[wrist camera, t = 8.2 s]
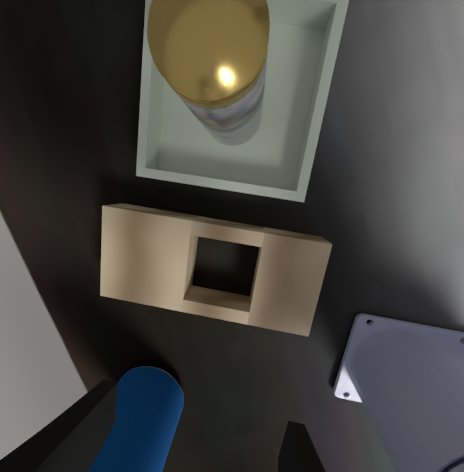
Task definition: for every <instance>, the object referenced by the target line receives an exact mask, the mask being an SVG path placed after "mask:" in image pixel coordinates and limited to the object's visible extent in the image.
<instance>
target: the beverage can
mask: <svg viewBox="0 0 464 472" xmlns="http://www.w3.org/2000/svg"><path fill="white" fill-rule="evenodd" d="M183 405H184V395H183V391H182V389H181V387H180V385H179V384H178V382H177V381H176V380H175V379H174V378H173V377H172V376H171V375H170V374H169V373H167V372H166V371H164V370H162V369H159V368H156V367H149V366H142V367H136V368H133V369H131V370H129V371H128V372H126V373H125V374H124V375H123V376H122V378H121V379H120V380H119V382H118V387H117V403H116V420H115V423H114V425H113V427H112V429H111V431H110V433H109V435H108V437H107V439H106V441H105V443H104V445H103V447H102V449H101V451H100V453H99V454H98V456H97V458H96V459H95V461H94V463H93V464H92V466H91V468H90V469H89V471H88V472H162V470H163V467H164V464H165V461H166V458H167V455H168V452H169V449H170V446H171V443H172V440H173V436H174V433H175V430H176V427H177V424H178V421H179V418H180V415H181V412H182V409H183Z"/></svg>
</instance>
